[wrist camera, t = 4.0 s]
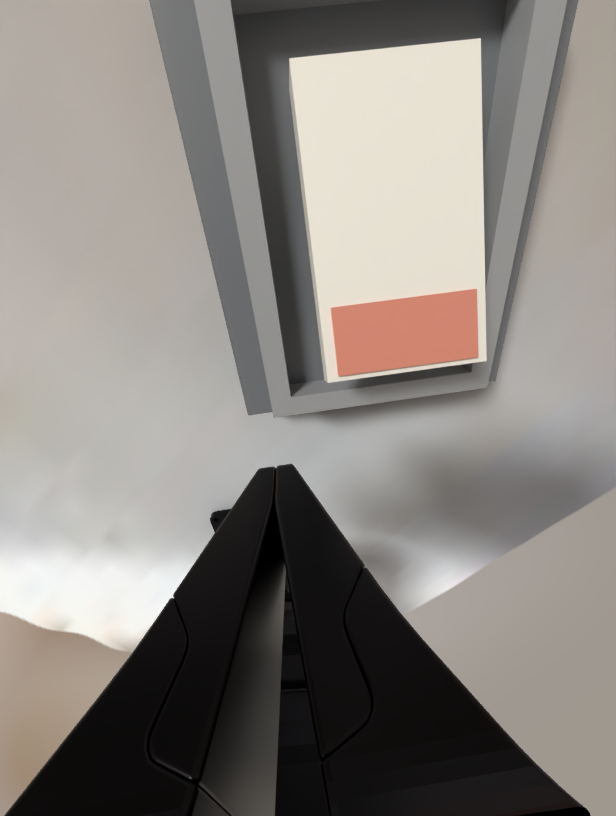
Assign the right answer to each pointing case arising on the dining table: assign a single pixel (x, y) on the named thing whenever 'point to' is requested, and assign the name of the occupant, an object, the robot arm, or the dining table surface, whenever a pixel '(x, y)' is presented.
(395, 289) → the breaker switch
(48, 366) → the dining table surface
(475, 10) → the frame
